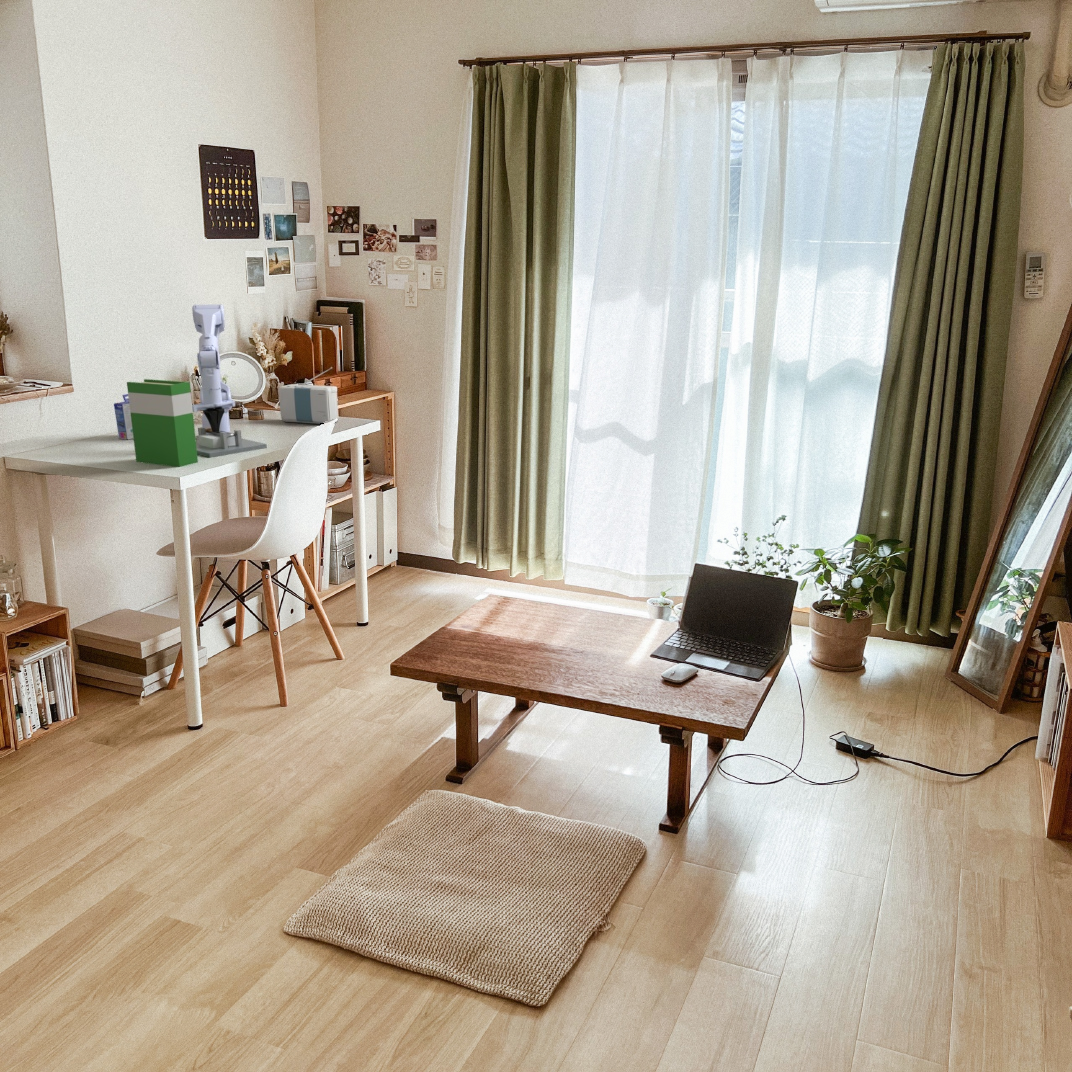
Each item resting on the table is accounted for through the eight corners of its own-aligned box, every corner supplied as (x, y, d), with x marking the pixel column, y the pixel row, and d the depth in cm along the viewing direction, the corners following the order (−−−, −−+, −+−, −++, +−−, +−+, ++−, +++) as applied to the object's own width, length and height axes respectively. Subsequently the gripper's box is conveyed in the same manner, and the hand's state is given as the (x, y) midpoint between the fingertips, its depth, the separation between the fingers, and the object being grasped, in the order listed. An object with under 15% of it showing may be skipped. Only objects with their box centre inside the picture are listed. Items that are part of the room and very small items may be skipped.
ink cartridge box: (142, 434, 356) (137, 392, 352) (152, 435, 353) (147, 393, 349) (117, 438, 348) (111, 395, 344) (127, 440, 345) (122, 397, 341)
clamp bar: (203, 432, 333) (203, 428, 332) (212, 431, 335) (211, 427, 335) (227, 437, 323) (226, 433, 323) (236, 436, 325) (235, 431, 325)
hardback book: (136, 461, 311) (126, 382, 305) (155, 457, 318) (146, 379, 311) (179, 467, 304) (170, 385, 297) (197, 462, 310) (189, 382, 303)
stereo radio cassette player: (280, 422, 375) (275, 367, 370) (293, 419, 383) (289, 364, 377) (328, 426, 368) (325, 369, 362) (341, 422, 375) (338, 367, 369)
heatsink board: (174, 448, 331) (172, 429, 329) (230, 439, 345) (228, 420, 343) (210, 457, 316) (208, 437, 315) (266, 447, 330) (265, 428, 328)
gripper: (197, 392, 319) (201, 436, 323) (238, 387, 329) (242, 429, 333) (185, 390, 324) (190, 433, 327) (226, 385, 334) (230, 427, 337)
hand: (215, 431), depth 330 cm, fingers closed, pressing on clamp bar
